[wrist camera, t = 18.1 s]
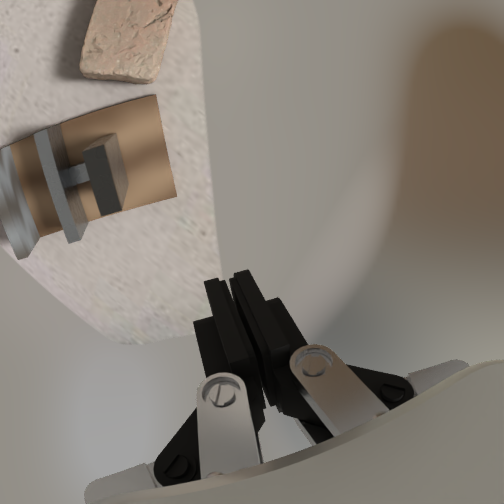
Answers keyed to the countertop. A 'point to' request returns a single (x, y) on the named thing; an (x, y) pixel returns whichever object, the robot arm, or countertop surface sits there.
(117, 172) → the free jaw
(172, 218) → the countertop surface
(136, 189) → the vise base
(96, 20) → the brick
